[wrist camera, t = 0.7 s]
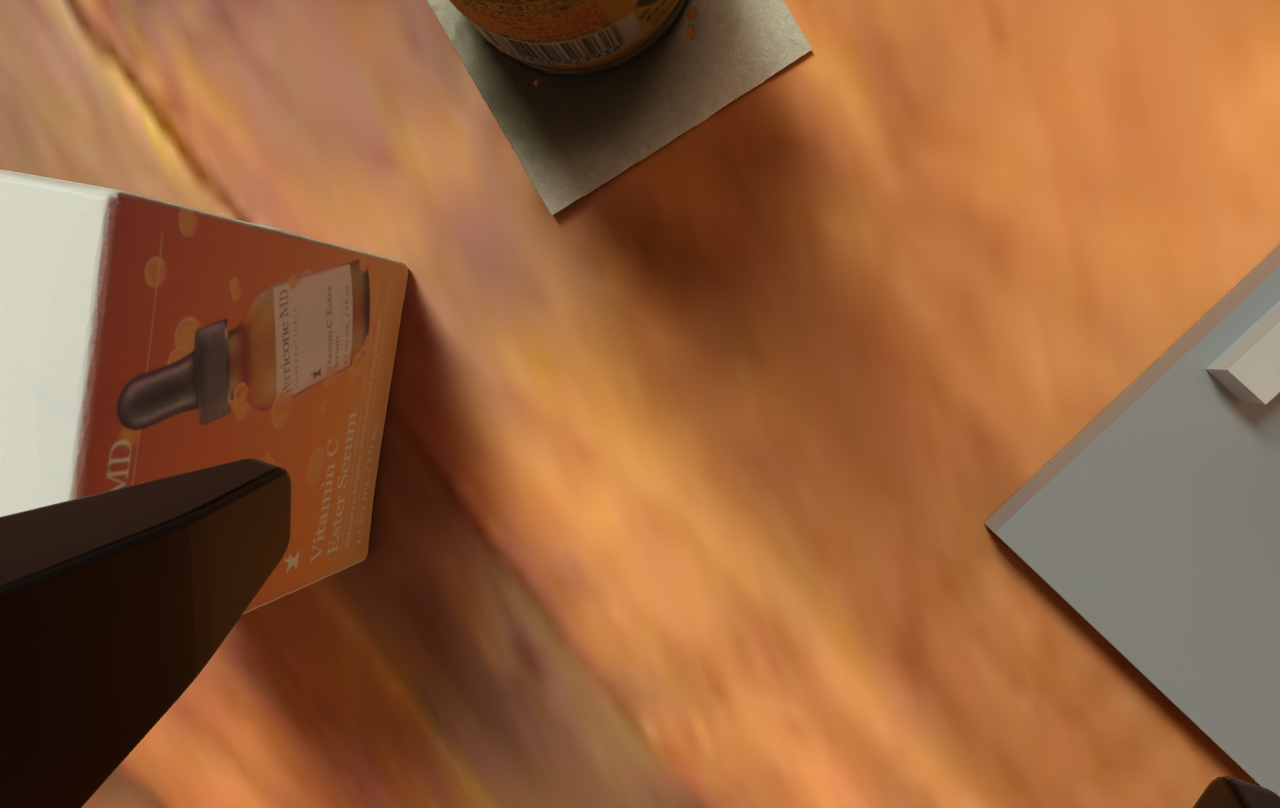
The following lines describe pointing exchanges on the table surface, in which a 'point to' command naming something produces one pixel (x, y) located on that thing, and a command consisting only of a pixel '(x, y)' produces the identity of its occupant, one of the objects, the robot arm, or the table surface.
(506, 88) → the condiment
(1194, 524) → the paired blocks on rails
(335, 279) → the small box
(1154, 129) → the table surface
